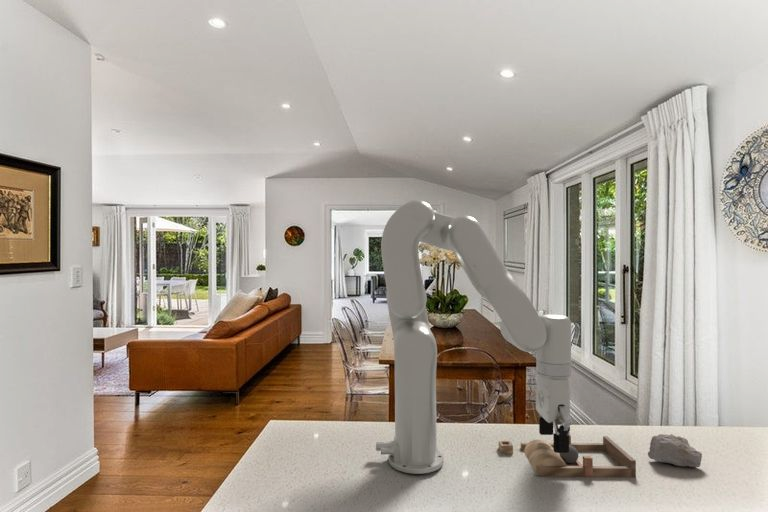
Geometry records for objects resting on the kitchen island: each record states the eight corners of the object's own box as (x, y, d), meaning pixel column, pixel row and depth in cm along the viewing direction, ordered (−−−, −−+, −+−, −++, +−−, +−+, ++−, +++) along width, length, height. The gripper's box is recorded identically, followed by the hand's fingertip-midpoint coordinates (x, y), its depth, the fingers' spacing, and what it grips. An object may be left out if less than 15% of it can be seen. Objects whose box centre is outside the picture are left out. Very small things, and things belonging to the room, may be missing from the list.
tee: (501, 455, 106) (501, 445, 106) (498, 450, 109) (498, 440, 109) (513, 455, 106) (512, 445, 106) (510, 450, 109) (510, 440, 109)
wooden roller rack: (537, 499, 96) (537, 457, 96) (520, 470, 109) (520, 433, 109) (636, 500, 95) (636, 458, 95) (607, 470, 108) (606, 434, 108)
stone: (708, 470, 98) (709, 443, 98) (666, 471, 97) (667, 443, 97) (680, 455, 106) (680, 430, 106) (641, 455, 105) (642, 430, 105)
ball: (570, 445, 100) (584, 456, 100) (563, 438, 104) (577, 448, 104) (559, 459, 100) (574, 470, 100) (553, 451, 104) (567, 462, 104)
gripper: (526, 359, 111) (526, 428, 111) (549, 378, 94) (549, 459, 94) (556, 360, 111) (556, 428, 111) (585, 379, 94) (585, 460, 94)
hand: (553, 442), depth 102 cm, fingers open, 9 cm apart
